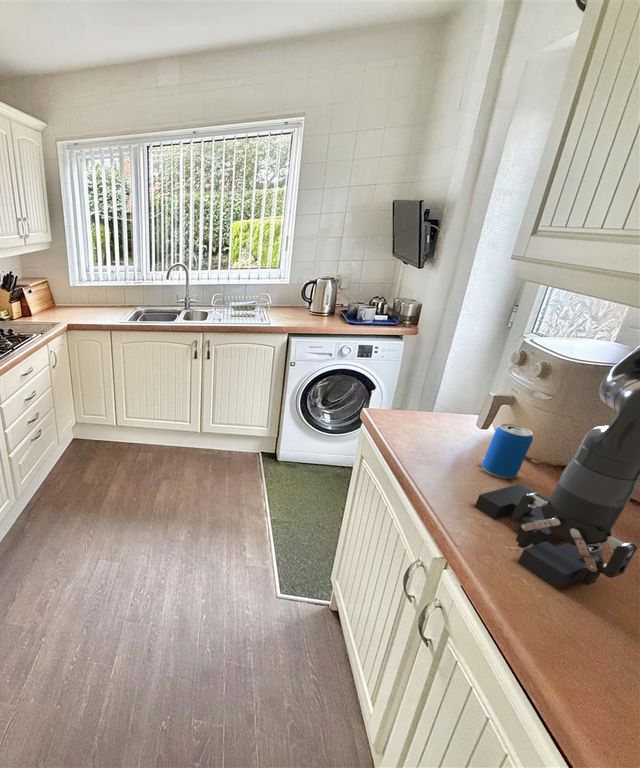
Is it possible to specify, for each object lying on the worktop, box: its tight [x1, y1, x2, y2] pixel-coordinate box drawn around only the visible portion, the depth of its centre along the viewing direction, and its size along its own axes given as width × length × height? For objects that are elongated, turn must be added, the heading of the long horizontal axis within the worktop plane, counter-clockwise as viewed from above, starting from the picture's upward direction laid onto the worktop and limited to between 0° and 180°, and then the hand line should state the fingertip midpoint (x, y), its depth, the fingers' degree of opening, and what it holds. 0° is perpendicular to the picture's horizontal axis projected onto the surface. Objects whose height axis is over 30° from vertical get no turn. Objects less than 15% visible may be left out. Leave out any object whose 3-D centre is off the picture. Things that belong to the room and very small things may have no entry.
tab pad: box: [517, 541, 586, 590], centre depth 71 cm, size 9×6×3 cm, turn 107°
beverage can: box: [481, 423, 534, 479], centre depth 95 cm, size 6×6×12 cm
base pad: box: [474, 483, 564, 545], centre depth 83 cm, size 12×12×3 cm
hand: (550, 563), depth 71 cm, fingers open, 8 cm apart
